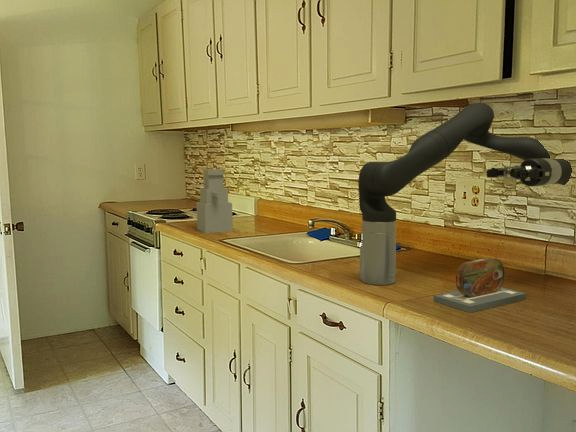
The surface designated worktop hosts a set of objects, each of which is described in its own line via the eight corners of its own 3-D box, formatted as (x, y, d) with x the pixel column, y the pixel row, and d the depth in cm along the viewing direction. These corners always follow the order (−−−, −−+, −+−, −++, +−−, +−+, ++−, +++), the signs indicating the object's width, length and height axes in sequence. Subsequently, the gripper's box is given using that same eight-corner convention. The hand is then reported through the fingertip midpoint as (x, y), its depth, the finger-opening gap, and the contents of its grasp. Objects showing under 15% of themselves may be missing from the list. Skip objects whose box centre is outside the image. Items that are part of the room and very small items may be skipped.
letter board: (433, 301, 131) (433, 294, 131) (488, 289, 142) (488, 283, 141) (470, 312, 122) (470, 305, 122) (525, 299, 132) (526, 293, 132)
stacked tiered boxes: (219, 226, 265) (217, 168, 261) (236, 232, 244) (235, 170, 240) (193, 227, 259) (191, 169, 256) (208, 234, 238) (207, 170, 235)
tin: (463, 299, 127) (464, 264, 126) (452, 296, 130) (453, 261, 129) (505, 290, 135) (506, 257, 134) (494, 287, 137) (495, 255, 136)
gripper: (517, 158, 154) (479, 159, 146) (565, 158, 142) (526, 159, 134) (516, 184, 155) (478, 187, 147) (563, 187, 143) (525, 190, 135)
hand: (501, 174), depth 141 cm, fingers open, 8 cm apart
